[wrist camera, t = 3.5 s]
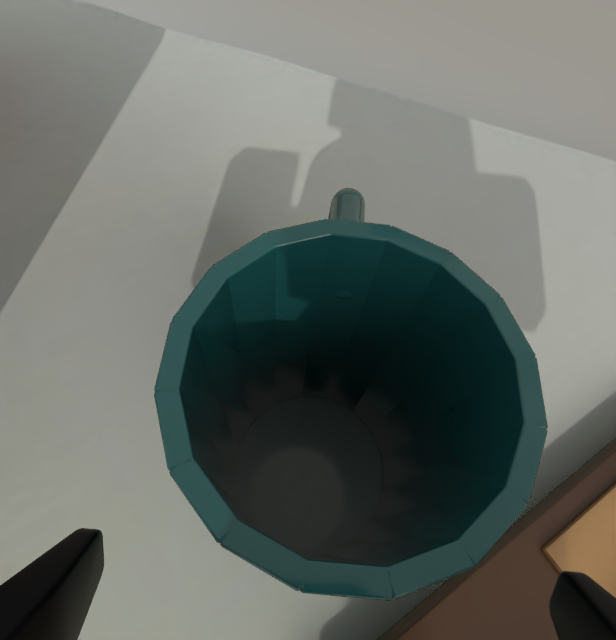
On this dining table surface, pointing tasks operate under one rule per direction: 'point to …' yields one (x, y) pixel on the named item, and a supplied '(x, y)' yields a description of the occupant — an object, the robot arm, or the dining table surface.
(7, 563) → the dining table surface
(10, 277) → the dining table surface
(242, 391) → the teal coffee mug
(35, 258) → the dining table surface
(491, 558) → the board
